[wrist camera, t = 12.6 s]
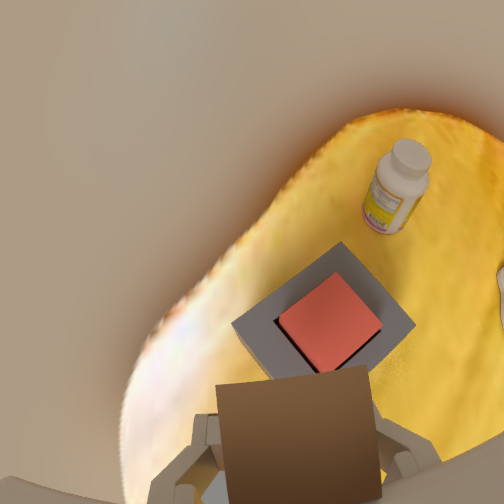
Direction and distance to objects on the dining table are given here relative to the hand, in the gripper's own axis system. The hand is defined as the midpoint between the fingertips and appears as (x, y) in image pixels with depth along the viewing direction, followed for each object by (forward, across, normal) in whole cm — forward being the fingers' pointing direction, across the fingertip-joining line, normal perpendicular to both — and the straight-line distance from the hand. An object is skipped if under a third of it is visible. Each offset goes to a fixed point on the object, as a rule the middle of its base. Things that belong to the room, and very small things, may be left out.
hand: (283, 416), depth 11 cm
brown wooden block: (+4, 0, +4) cm, 6 cm away
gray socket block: (+21, -6, +12) cm, 25 cm away
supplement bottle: (+32, -19, +1) cm, 37 cm away
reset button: (+17, -6, +8) cm, 19 cm away
